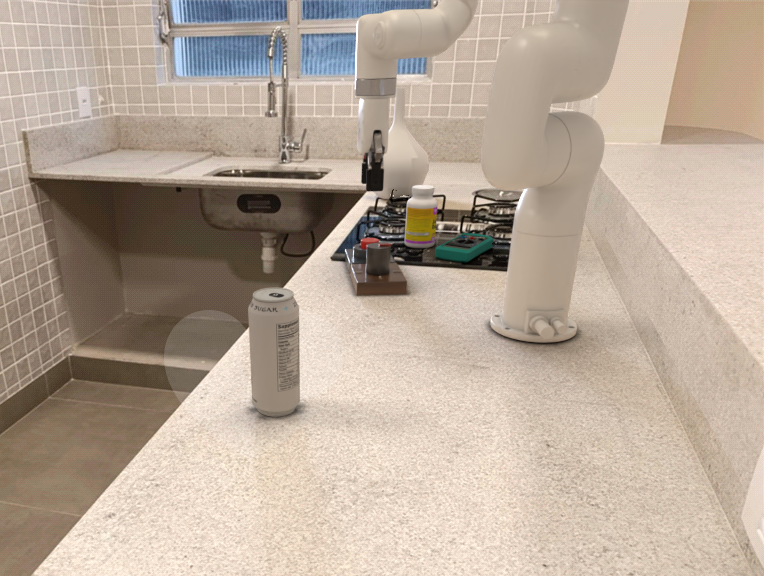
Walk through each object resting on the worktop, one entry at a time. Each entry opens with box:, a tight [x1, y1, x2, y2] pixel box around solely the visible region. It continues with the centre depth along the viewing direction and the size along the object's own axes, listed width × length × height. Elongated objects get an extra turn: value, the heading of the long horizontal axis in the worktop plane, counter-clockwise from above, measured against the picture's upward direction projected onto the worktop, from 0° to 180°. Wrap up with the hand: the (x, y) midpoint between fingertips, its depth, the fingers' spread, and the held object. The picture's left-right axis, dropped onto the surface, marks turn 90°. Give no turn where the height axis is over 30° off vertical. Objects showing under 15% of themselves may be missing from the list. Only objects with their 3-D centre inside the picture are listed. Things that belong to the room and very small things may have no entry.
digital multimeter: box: [434, 232, 494, 264], centre depth 148 cm, size 7×15×3 cm, turn 142°
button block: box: [344, 242, 397, 275], centre depth 142 cm, size 11×9×4 cm
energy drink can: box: [247, 286, 301, 418], centre depth 84 cm, size 6×6×15 cm
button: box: [360, 237, 380, 249], centre depth 141 cm, size 4×4×2 cm
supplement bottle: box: [403, 184, 438, 249], centre depth 153 cm, size 7×7×13 cm
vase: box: [372, 87, 430, 201], centre depth 200 cm, size 18×18×30 cm
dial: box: [366, 242, 392, 275], centre depth 129 cm, size 4×4×5 cm
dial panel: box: [349, 262, 408, 297], centre depth 130 cm, size 12×9×3 cm
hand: (371, 186), depth 136 cm, fingers open, 7 cm apart
